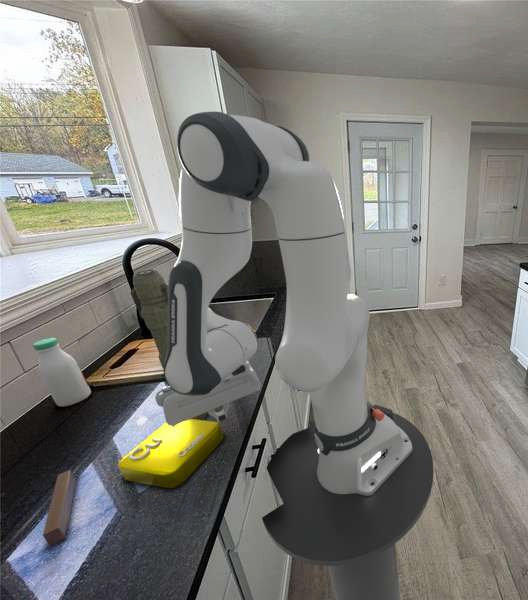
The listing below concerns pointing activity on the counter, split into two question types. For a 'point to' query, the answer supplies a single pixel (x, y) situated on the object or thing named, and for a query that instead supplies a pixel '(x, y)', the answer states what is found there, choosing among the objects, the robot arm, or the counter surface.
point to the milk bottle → (60, 373)
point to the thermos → (153, 306)
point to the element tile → (171, 453)
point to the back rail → (60, 508)
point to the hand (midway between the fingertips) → (222, 419)
